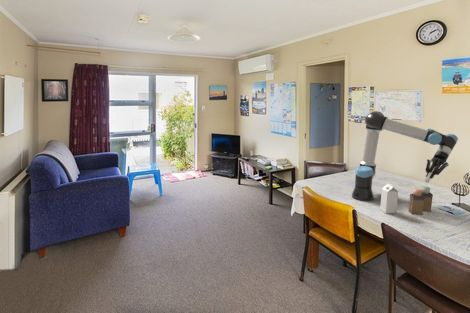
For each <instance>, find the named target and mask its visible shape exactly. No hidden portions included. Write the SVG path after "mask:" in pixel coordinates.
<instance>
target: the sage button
mask: <svg viewBox="0 0 470 313" xmlns="http://www.w3.org/2000/svg"><path fill="white" fill-rule="evenodd" d="M421 190H422V194H430V193H431V187H428V186H422V187H421Z"/></svg>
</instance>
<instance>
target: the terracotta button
mask: <svg viewBox="0 0 470 313" xmlns="http://www.w3.org/2000/svg"><path fill="white" fill-rule="evenodd" d="M412 194H413V196H414V197H421V195H422V189H418V188H414V189H413V191H412Z"/></svg>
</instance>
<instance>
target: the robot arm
mask: <svg viewBox="0 0 470 313" xmlns="http://www.w3.org/2000/svg"><path fill="white" fill-rule="evenodd" d="M365 129H366V131H367V132H366V137H365V138H366V139H365V144H364V150H363V157H362V160H361V161H360V162H359V166H357V167H356V169H355V181H354V182H355V183H354V189H353V190H352V192H351V193H352V194H351V198H353V199H354V200H356V201H357V200H358V201H365V202H367V201H373V200H374V192H373V189H372V188H373V187H372V186H373V179H374V177H375V175H376V166H377V164H376V163H375V162H376V154H377V150H378V149H377V148H378V143H379V138H380V132H381V131H384V130H385V131H388V132H392V133H395V134H398V135H402V136H405V137H408V138H411V139H415V140H419V141H421V142H426V143H427V144H428V143H429V145H433V146H435V145H436V146H437V145H439V147H438V148H437V150H436V152H435V153H434V155H433V157H432V158H431V159H426V162H427V163H426V167H425V173H426V174H425V179H424V181H425V183H427V184H429V183H430V181H431V180H432V179H434V177H435V176H436V175H437V176H439V175H440V174H441V173H442V172H443V170H444V169H446V168H447V167H448V166H449V165H450V164H449V162H447V161H448V158H449V157H450V155H451V153H452V151H453V150H454V148H455V146H456V144H457V142H458V140H459V137H458V136H457V135H455V134H453V133H447V134H443V133H442V132H439V131H437V130H434V129H431V128H427V129H424V128H420V127H417V126H413V125H410V124H407V123H403V122H399V121H396V120H393V119H389V117H387V116H385V115H384V114H383V113H382V112H380V111H378V110H377V111H371V112H370V113H368V114H367V115H366V117H365Z"/></svg>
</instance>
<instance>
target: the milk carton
mask: <svg viewBox="0 0 470 313" xmlns="http://www.w3.org/2000/svg"><path fill="white" fill-rule="evenodd" d="M380 195H381V197H380V207H379V210H380V211H382V212H383V213H384V214H396V213H397V212H398V211H397V210H398V209H397V208H398V201H399V200H398V199H399V191H398V190H397V189H396V188H395V187H394V185H393V184H391V183H389V182H386V184H385V185H384V186H383V187H382V188H381V194H380Z"/></svg>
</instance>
